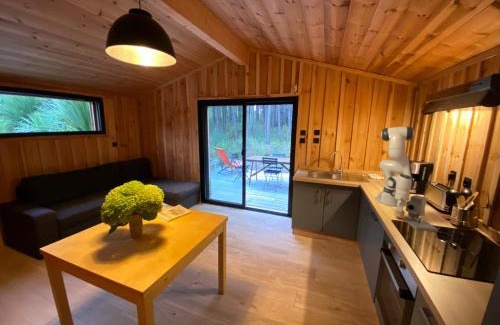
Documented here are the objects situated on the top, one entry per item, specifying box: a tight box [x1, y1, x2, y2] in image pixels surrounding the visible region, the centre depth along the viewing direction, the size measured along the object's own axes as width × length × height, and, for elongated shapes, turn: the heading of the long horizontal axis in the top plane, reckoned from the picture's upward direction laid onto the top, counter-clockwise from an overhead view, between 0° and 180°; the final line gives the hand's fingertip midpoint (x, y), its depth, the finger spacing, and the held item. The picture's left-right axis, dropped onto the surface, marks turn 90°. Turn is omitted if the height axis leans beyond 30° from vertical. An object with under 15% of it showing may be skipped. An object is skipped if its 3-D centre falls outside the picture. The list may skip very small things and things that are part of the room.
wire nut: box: [393, 208, 406, 219], centre depth 164 cm, size 5×5×6 cm
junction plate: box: [402, 216, 439, 233], centre depth 153 cm, size 16×13×7 cm
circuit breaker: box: [404, 194, 428, 219], centre depth 169 cm, size 8×14×15 cm, turn 117°
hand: (399, 213), depth 165 cm, fingers closed on wire nut, 6 cm apart
